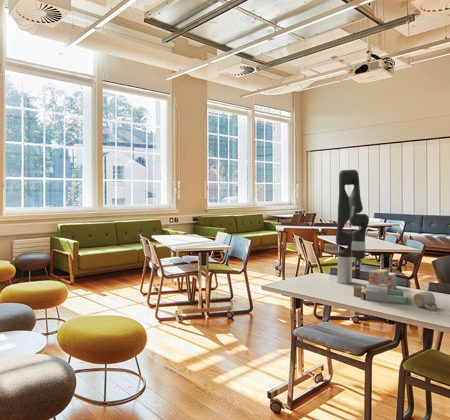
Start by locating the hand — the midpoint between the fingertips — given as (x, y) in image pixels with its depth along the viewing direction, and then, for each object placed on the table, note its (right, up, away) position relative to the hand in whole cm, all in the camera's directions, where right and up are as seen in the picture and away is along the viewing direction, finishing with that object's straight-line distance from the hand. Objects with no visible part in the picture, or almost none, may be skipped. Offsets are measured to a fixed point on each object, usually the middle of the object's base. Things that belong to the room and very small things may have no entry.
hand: (357, 277), depth 227 cm
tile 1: (+11, -6, -8) cm, 15 cm away
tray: (+19, -11, -7) cm, 23 cm away
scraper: (0, -10, +1) cm, 10 cm away
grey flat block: (+9, -11, -3) cm, 15 cm away
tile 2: (+14, -6, -1) cm, 15 cm away
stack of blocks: (+20, -10, +16) cm, 28 cm away
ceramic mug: (+28, -12, -22) cm, 37 cm away
